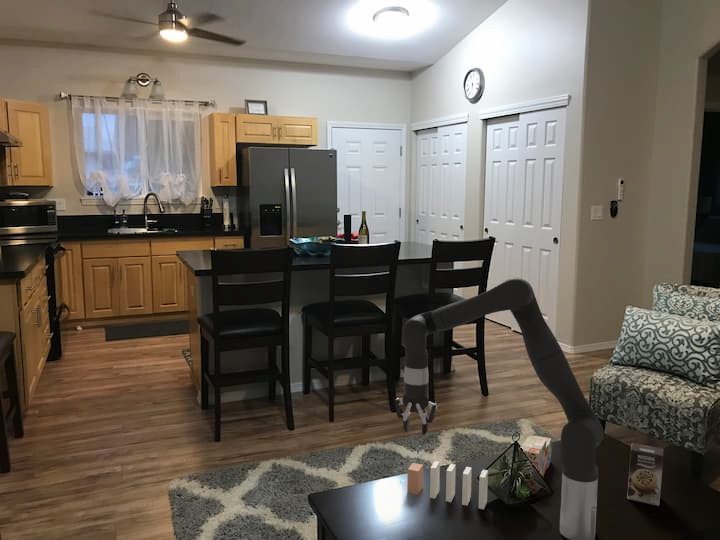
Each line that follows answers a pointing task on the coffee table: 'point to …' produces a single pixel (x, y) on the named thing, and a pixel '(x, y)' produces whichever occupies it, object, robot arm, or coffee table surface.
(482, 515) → the coffee table surface
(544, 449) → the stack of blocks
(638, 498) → the brown cookie box
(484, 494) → the domino
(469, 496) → the domino
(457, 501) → the coffee table surface
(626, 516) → the coffee table surface
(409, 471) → the domino
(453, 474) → the domino
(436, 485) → the domino
